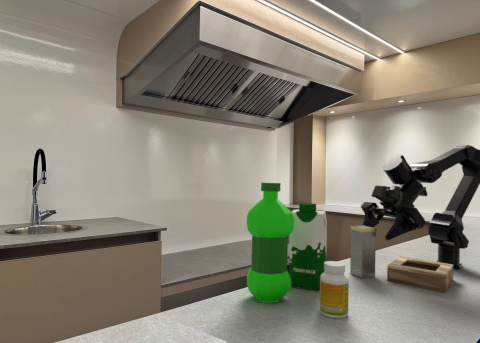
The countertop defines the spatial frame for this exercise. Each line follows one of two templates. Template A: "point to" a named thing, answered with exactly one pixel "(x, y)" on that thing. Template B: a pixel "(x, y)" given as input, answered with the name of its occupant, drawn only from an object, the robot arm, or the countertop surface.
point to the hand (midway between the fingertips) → (373, 236)
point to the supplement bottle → (334, 290)
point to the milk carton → (307, 247)
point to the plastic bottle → (269, 245)
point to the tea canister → (363, 251)
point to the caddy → (420, 273)
